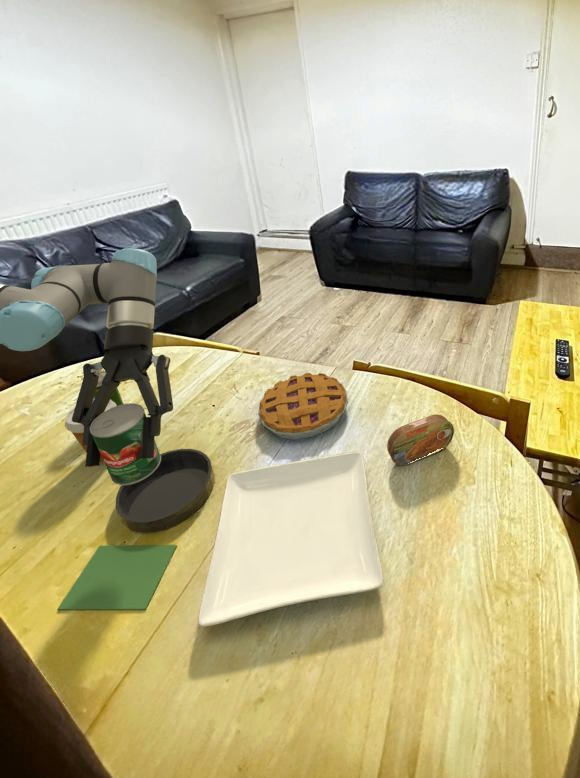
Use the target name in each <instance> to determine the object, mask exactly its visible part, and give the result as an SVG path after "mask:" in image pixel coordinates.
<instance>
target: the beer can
mask: <svg viewBox="0 0 580 778" xmlns="http://www.w3.org/2000/svg"><path fill="white" fill-rule="evenodd" d="M105 374H106V371H105V370H101V374H100V375H99V380H98V384H97V388H96V391H95V395H94V398H95V397H96V395H97V393H98V391H99V389H100V388H101V386H102V380H103V378H104V376H105ZM111 400H112V401H113V402H115V403H116V405H117V406H119V405H123V404H124V402H123V399H122V396H121V394H120V391H119V387H117V388H116V389H115V391H114V393H113V395H112V397H111Z"/></svg>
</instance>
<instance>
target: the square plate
mask: <svg viewBox="0 0 580 778" xmlns="http://www.w3.org/2000/svg"><path fill="white" fill-rule="evenodd" d="M367 483H368V482H367V476H366V467H365V459H364V455H363V452H362V451H360V450H356V451H355V450H354V451H349V452H343V453H336V454H331V455H330V454H329V455H325V456H319V457H314V458H307V459H301V460H296V461H291V462H285V463H279V464H274V465H269V466H268V465H267V466H261V467H255V468H251V469H245V470H240V471H236V472H232V473H230V474H229V475H228V476H227V479H226V484H225V489H224V492H223V493H224V494H223V499H222V505H221V510H220V515H219V519H218V520H219V521H218V526H217V529H216V530H217V531H216V535H215V540H214V545H213V550H212V552H211V553H212V554H211V558H210V562H209V568H208V571H207V575H206V580H205V584H204V589H203V592H202V597H201V602H200V606H199V610H198V617H197V623H198V626H199V627H201V628H203V627H211V626H216V625H220V624H224V623H226V622H230V621H234V620H237V619H240V618H244V617H248V616H252V615H255V614H258V613H263V612H266V611H269V610H273V609H277V608H281V607H286V606H290V605H291V606H292V605H296V604H301V603H305V602H310V601H317V600H323V599H327V598H328V599H329V598H332V597H341V596H345V595H351V594H357V593H358V594H359V593H365V592H368V591H369V592H370V591H373V590H376V589H379V588H381V587H383V584H384V576H383V569H382V568H383V567H382V562H381V557H380V553H379V552H380V551H379V546H378V543H377V538H376V532H375V528H374V522H373V517H372V512H371V505H370V498H369V491H368V484H367Z"/></svg>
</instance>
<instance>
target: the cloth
mask: <svg viewBox="0 0 580 778" xmlns="http://www.w3.org/2000/svg"><path fill="white" fill-rule="evenodd" d="M177 547H178V545H177V544H153V545H152V544H150V545H147V544H145V545H143V544H142V545H137V544H136V545H134V544H133V545H98V547H97V549H96V550H95V552H94V553H93V555H92V556H91V558H90V559H89V561H88V562H87V564H86V565H85V566H84V568H83V570H82V571H81V573H79V576H78V577H77V578H76V580H75V581H74V582H73V584H72V586H71V588H70V589H69V591H68V593H67V594H66V595H65V597H64V598H63V600H62V601H61V602H60V604H59V606H58V607H57V610H58V611H147V609H148V607H149V605H150V602H151V600H152V598H153V596H154V594H155V592H156V590H157V588H158V587H159V584H160V582H161V580H162V578H163V576H164V574H165V572H166V570H167V568H168V565H169V563H170V561H171V559H172V557H173V555H174V553H175V551H176V550H177Z"/></svg>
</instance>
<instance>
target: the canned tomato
mask: <svg viewBox="0 0 580 778" xmlns="http://www.w3.org/2000/svg"><path fill="white" fill-rule="evenodd" d="M144 417H147V414H146V411H145V409H144V407H143V406H142V405H141V404H139V403H134V402H133V403H132V402H131V403H129V402H128V403H123V405H119V406H115V407H113V408H111V409H109V410H107V411H105V412H103V413H102V414H100V415H99V416H98V417H97V418H96V419H95V420H94V421H93V422H92V423H91V426H90V432H91V434H92V436H93V438H94V441H95V443H96V445H97V448H98V449H99V452H100V454H101V456H102V459H103V461H104V462H103V463H104V465H105V467H106V470H107V472H108V475H109V476H110V480H111V481H112V483H113V484H116V485H118V486H121V485H131V484H134V483H137V482H140V481H142V480H144V479H145V478H147V477H148V476H150V475H151V474H152V473H153V472H154V471H155V470H156V469H157V468H158V466H159V464H160V462H161V455H160V454H161V453H160V451H159V447H158V444H157V441H156V440H155V441H154V458H146V459H142V443H143V426H144Z"/></svg>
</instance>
